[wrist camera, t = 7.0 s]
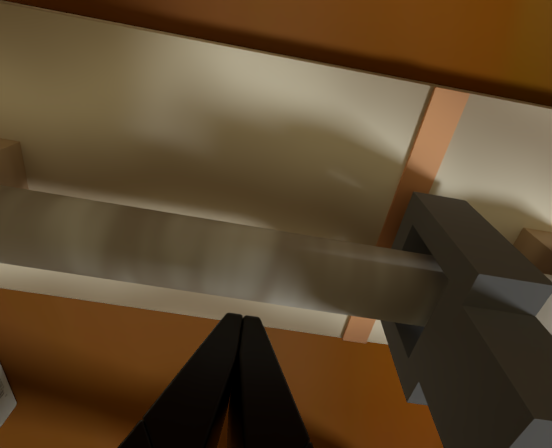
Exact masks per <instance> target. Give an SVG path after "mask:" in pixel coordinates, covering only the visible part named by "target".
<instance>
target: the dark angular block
mask: <svg viewBox="0 0 552 448" xmlns="http://www.w3.org/2000/svg"><path fill="white" fill-rule="evenodd" d="M391 249H396V250H402V251H408V252H414V253H420V254H426V255H432V256H433V257H434V258H435V260H436V261H437V263H438V264H439V266H440V267H441V269H442V270H443V272H444V273H445V275H446V276H447V278H448V279H449V281H448V283H447V285H446V287H445V289H444V291H443V292H442V294H441V296H440V298H439V300H438V302H437V304H436V306H435V308H434V310H433V312H432V314H431V316H430V318H429V320H428V322H427V324H426V325H425V327H423V326H416V325H409V324H403V323H396V322H389V321H383V320H380V321H381V324H382V327H383V330H384V333H385V336H386V339H387V342H388V345H389V348H390V352H391V355H392V358H393V361H394V364H395V367H396V370H397V373H398V376H399V379H400V382H401V385H402V388H403V391H404V395H405V398H406V401H407V402H409V403H416V404H423V405H428V407H429V410H430V412H431V415H432V417H433V420H434V423H435V425H436V428H437V431H438V433H439V436H440V439H441V441H442V444H443V447H444V448H552V335H551V334H550V333H549V331H548V330H547V329H546V328H545V327H544V326H543V325H542V323H541V322H540V321H539V320H538V319H537V318H536V317H535V316H536V315H537V314H538V312H539V311H540V309H541V308H542V306H543V305H544V304H545V302H546V301H547V299H548V298H549V297H550V295H551V294H552V281H551V280H550V279H548V278H547V277H546V276H545V275H544V274H543V273H542V272H541V271H540V270H539V269H538V268H537V267H536V266H535V265H534V264H533V263H531V262H530V261H529V260H528V259H527V258H526V257H525V256H524V255H523V254H522V253H521V252H520V251H519V250H518V249H517V248H516V247H514V246H513V245H512V244H511V243H510V242H509V241H508V240H507V239H506V238H505V237H504V236H503V235H502V234H501V233H500V232H499V231H497V230H496V229H495V228H494V227H493V226H492V225H491V224H490V223H489V222H488V221H487V220H486V219H485V218H484V217H483V216H482V215H480V214H479V213H478V212H477V211H476V210H475V209H474V208H473V207H472V206H471V205H470V204H469V203H468V202H467V201H466V200H460V199H455V198H449V197H443V196H437V195H432V194H426V193H420V192H414V191H413V194H412V196H411V199H410V201H409V204H408V206H407V209H406V211H405V214H404V217H403V219H402V222H401V224H400V227H399V229H398V232H397V234H396V237H395V239H394V242H393V245H392V247H391Z"/></svg>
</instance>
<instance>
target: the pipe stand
mask: <svg viewBox="0 0 552 448" xmlns="http://www.w3.org/2000/svg"><path fill="white" fill-rule="evenodd" d="M413 191H414V192H420V193H426V194H432V195H437V196H443V197H449V198H455V199H460V200H466V201H467V202H468V203H469V204H470V205H471V206H472V207H473V208H474V209H475V210H476V211H477V212H478V213H479V214H480V215H482V216H483V217H484V218H485V219H486V220H487V221H488V222H489V223H490V224H491V225H492V226H493V227H494V228H495V229H496V230H497V231H499V232H500V233H501V234H502V235H503V236H504V237H505V238H506V239H507V240H508V241H509V242H510V243H511V244H512V245H513V246H514V247H516V248H517V249H518V250H519V251H520V252H521V253H522V254H523V255H524V256H525V257H526V258H527V259H528V260H529V261H530V262H531V263H533V264H534V265H535V266H536V267H537V268H538V269H539V270H540V271H541V272H542V273H543V274H544V275H545V276H546V277H547V278H548V279H550V280H551V281H552V107H551V106H546V105H541V104H535V103H530V102H525V101H520V100H515V99H510V98H504V97H499V96H494V95H489V94H484V93H478V92H473V91H468V90H463V89H458V88H453V87H447V86H442V85H437V84H432V83H427V82H422V81H416V80H411V79H406V78H401V77H396V76H391V75H385V74H380V73H375V72H370V71H365V70H359V69H354V68H349V67H344V66H339V65H334V64H328V63H323V62H318V61H313V60H308V59H303V58H297V57H292V56H287V55H282V54H277V53H272V52H266V51H261V50H256V49H251V48H246V47H241V46H235V45H230V44H225V43H220V42H215V41H209V40H204V39H199V38H194V37H189V36H184V35H178V34H173V33H168V32H163V31H158V30H153V29H147V28H142V27H137V26H132V25H127V24H122V23H116V22H111V21H106V20H101V19H96V18H90V17H85V16H80V15H75V14H70V13H65V12H59V11H54V10H49V9H44V8H39V7H34V6H28V5H23V4H18V3H13V2H8V1H3V0H0V288H5V289H12V290H19V291H25V292H32V293H39V294H46V295H53V296H60V297H66V298H73V299H80V300H87V301H94V302H101V303H108V304H114V305H121V306H128V307H135V308H142V309H149V310H155V311H162V312H169V313H176V314H183V315H190V316H197V317H203V318H210V319H217V320H221V319H222V318H223V317H224V316H225V314H226V313H229V312H230V313H236V314H241V315H243V317H244V316H245V315H249V316H256V317H259V318H260V319H261V321H262V323H263V326H265V327H272V328H279V329H285V330H292V331H299V332H306V333H313V334H320V335H327V336H333V337H340V338H342V340H345V341H352V342H359V343H366V342H367V341H368V342H374V343H381V344H388V342H387V339H386V336H385V333H384V330H383V327H382V324H381V321H380V320H383V321H389V322H396V323H403V324H409V325H416V326H423V327H425V325H426V324H427V322H428V320H429V318H430V316H431V314H432V312H433V310H434V308H435V306H436V304H437V302H438V300H439V298H440V296H441V294H442V292H443V291H444V289H445V287H446V285H447V283H448V281H449V279H448V278H447V276H446V275H445V273H444V272H443V270H442V269H441V267H440V266H439V264H438V263H437V261H436V260H435V258H434V257H433V256H432V255H426V254H420V253H414V252H408V251H402V250H396V249H391V247H392V245H393V242H394V239H395V237H396V234H397V232H398V229H399V227H400V224H401V222H402V219H403V217H404V214H405V211H406V209H407V206H408V204H409V201H410V199H411V196H412V194H413ZM535 317H536V318H537V319H538V320H539V321H540V322H541V323H542V325H543V326H544V327H545V328H546V329H547V330H548V331H549V333H550V334H551V335H552V294H551V295H550V297H549V298H548V299H547V301H546V302H545V304H544V305H543V306H542V308H541V309H540V311H539V312H538V314H537V315H536V316H535Z"/></svg>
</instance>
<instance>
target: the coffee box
mask: <svg viewBox="0 0 552 448" xmlns="http://www.w3.org/2000/svg"><path fill="white" fill-rule="evenodd" d="M16 404H17V402H16V400H15V398H14V395H13V393H12V391H11V388H10V386H9V383H8V381H7V378H6V376H5V373H4V371H3V369H2V366H1V364H0V427H1V426H2V424H3V423H4V422H5V420H6V419H7V417H8V416H9V415H10V413H11V412H12V410H13V409H14V408H15V406H16Z"/></svg>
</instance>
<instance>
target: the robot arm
mask: <svg viewBox="0 0 552 448" xmlns="http://www.w3.org/2000/svg"><path fill="white" fill-rule="evenodd" d="M231 387H232V388H231ZM230 393H231V394H230ZM229 398H230V401H229ZM228 404H229V412H228V433H227V448H314V447H313V445H312V443H311V442H309V441H310V438H309V435H308V433H307V430H306V428H305V426H304V423H303V421H302V418H301V416H300V413H299V411H298V409H297V406H296V404H295V401H294V399H293V396H292V394H291V392H290V389H289V387H288V384H287V382H286V379H285V377H284V375H283V372H282V370H281V367H280V365H279V362H278V360H277V357H276V355H275V353H274V350H273V348H272V345H271V343H270V340H269V338H268V336H267V333H266V331H265V328H264V326H263V323H262V321H261V319H260V318H259V317H256V316H249V315H245V316H244V317H243V315H241V314H236V313H230V312H229V313H226V314H225V316H224V317H223V318H222V319H221V320H220V322H219V323H218V324H217V325H216V327H215V328H214V329H213V330H212V332H211V333H210V334H209V335H208V337H207V338H206V339H205V340H204V342H203V343H202V344H201V345H200V347H199V348H198V349H197V350H196V352H195V353H194V354H193V355H192V357H191V358H190V359H189V360H188V362H187V363H186V364H185V365H184V366H183V368H182V369H181V370H180V371H179V373H178V374H177V375H176V376H175V378H174V379H173V380H172V381H171V383H170V384H169V385H168V386H167V388H166V389H165V390H164V391H163V393H162V394H161V395H160V396H159V398H158V399H157V400H156V401H155V403H154V404H153V405H152V406H151V408H150V409H149V410H148V411H147V412H146V414H145V415H144V416H143V420H140V421H139V422H138V423H137V425H136V426H135V427H134V428H133V430H132V431H131V432H130V433H129V435H128V436H127V437H126V438H125V439H124V441H123V442H122V443H121V444H120V445H119V446H118V448H217V445H218V441H219V437H220V434H221V430H222V427H223V423H224V420H225V416H226V412H227V408H228Z"/></svg>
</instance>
